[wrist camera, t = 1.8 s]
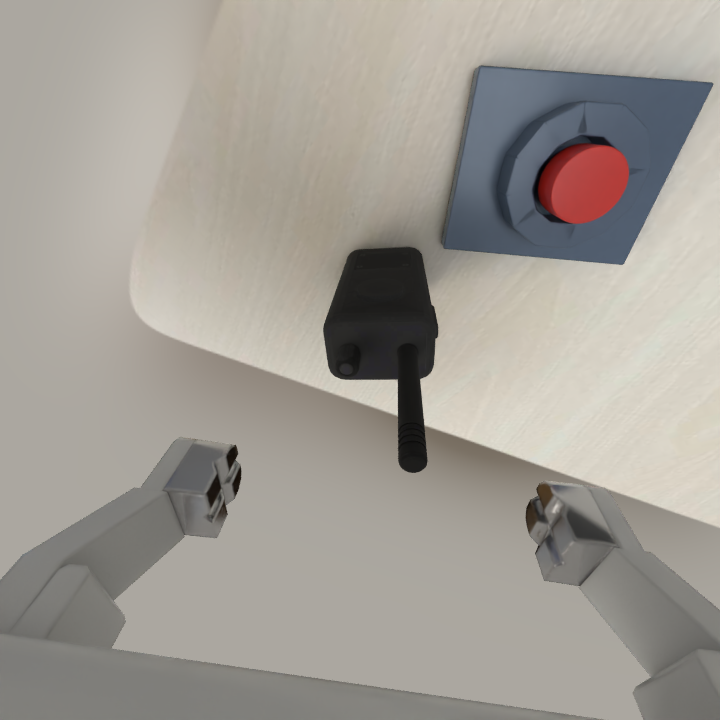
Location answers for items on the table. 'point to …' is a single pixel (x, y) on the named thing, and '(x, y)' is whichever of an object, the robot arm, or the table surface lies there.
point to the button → (583, 182)
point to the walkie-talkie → (386, 335)
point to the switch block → (545, 140)
